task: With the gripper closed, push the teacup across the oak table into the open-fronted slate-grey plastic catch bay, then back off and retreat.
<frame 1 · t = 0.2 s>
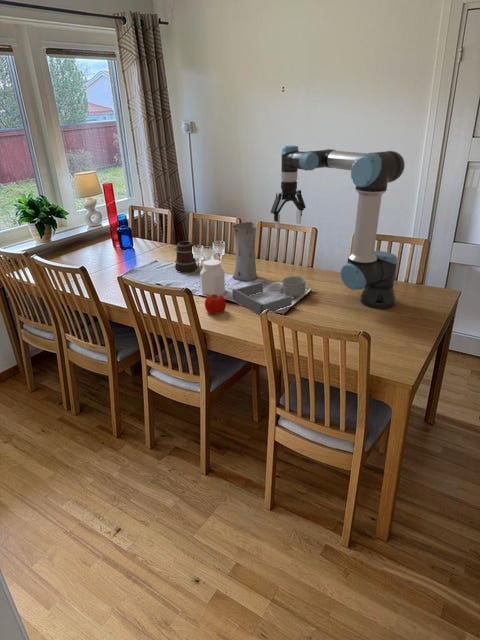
hand: (287, 225, 217), 28 cm above the table, fingers open, 13 cm apart
vase: (244, 278, 231), on the table
teacup: (293, 294, 210), on the table
catch bay: (261, 303, 201), on the table
jar: (213, 292, 215), on the table
tomato: (216, 312, 193), on the table
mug: (188, 268, 246), on the table
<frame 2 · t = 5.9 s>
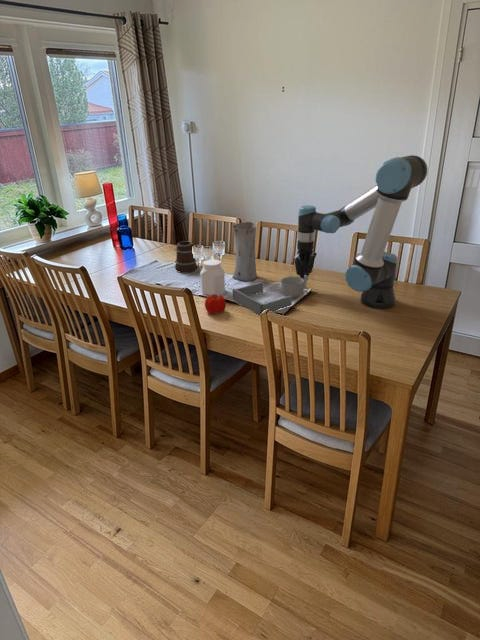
hand: (303, 287, 213), 2 cm above the table, fingers closed
teacup: (292, 294, 210), on the table, touching gripper
everything else where it was.
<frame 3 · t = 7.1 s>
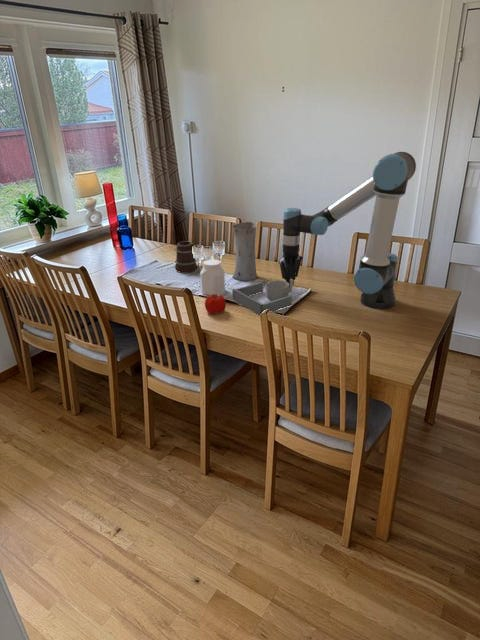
hand: (289, 291, 208), 2 cm above the table, fingers closed
teacup: (277, 299, 205), on the table, touching gripper
everything else where it was.
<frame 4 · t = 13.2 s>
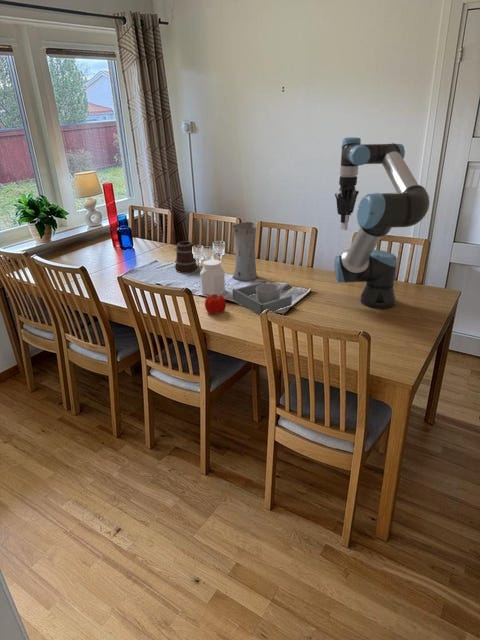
hand: (343, 229, 202), 29 cm above the table, fingers closed
teacup: (268, 302, 202), resting in catch bay
everything else where it was.
at the end: teacup inside the target area on the catch bay (3.2 cm from its centre), point 0.0 cm above the catch bay's base; teacup moved 15.1 cm from its start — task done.
